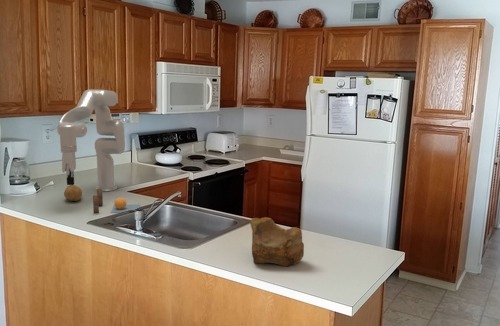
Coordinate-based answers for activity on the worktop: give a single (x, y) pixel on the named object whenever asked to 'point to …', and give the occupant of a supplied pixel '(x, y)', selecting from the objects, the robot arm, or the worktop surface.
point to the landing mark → (127, 207)
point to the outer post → (95, 204)
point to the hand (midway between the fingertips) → (70, 184)
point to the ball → (120, 203)
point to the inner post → (100, 197)
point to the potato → (73, 193)
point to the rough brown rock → (275, 243)
